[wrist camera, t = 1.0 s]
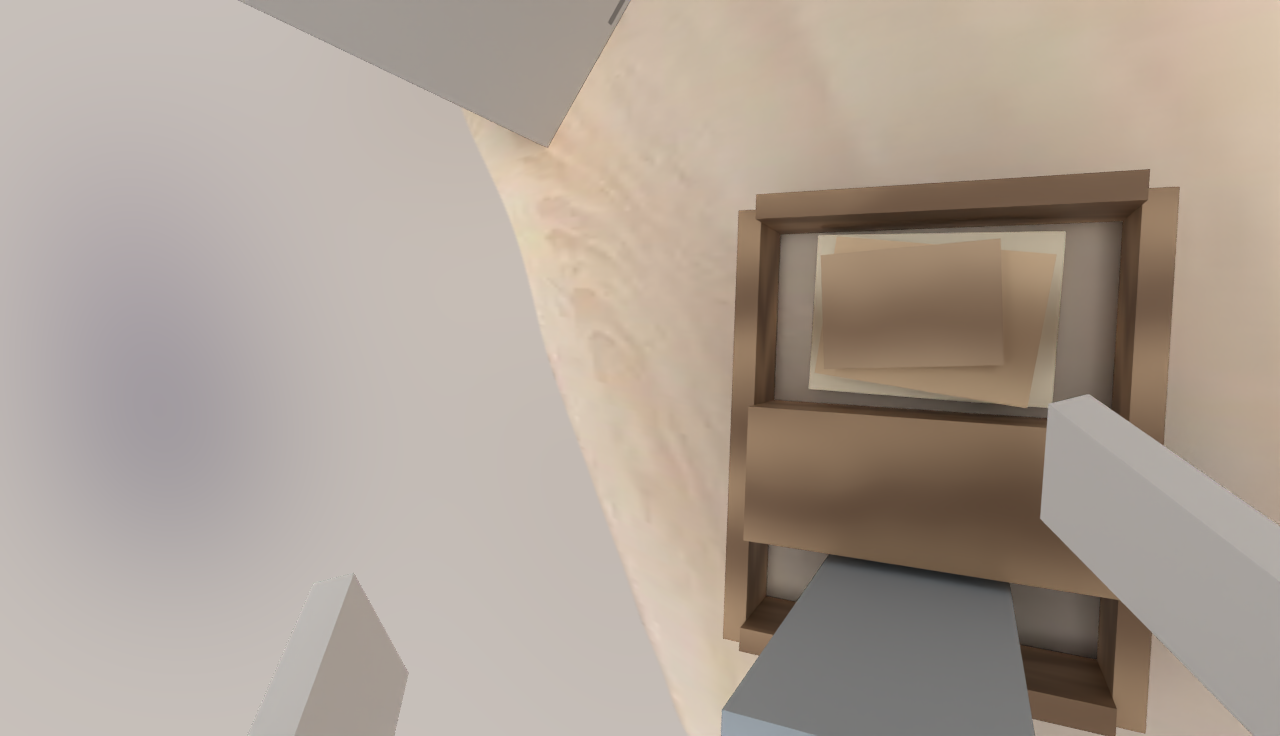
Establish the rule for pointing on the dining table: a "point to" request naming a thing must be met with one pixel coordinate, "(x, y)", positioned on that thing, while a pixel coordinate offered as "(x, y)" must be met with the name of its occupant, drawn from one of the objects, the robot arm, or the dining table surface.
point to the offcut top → (913, 306)
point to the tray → (942, 434)
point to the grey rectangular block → (888, 659)
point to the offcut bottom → (1009, 241)
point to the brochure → (471, 49)
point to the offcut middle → (1021, 335)
